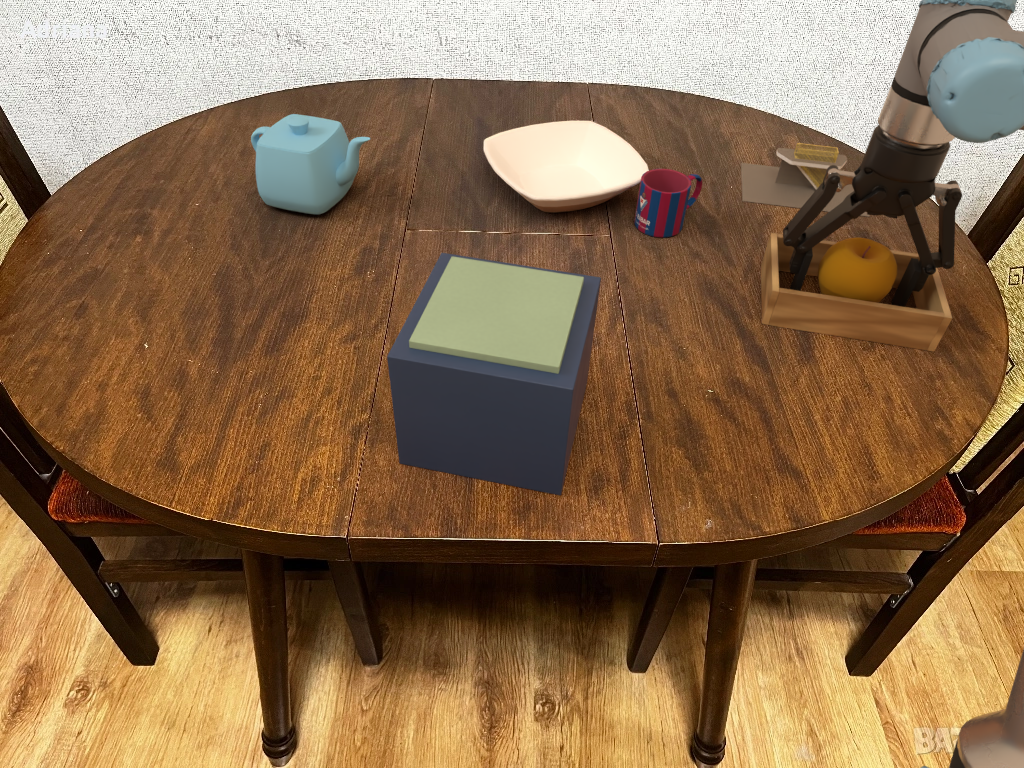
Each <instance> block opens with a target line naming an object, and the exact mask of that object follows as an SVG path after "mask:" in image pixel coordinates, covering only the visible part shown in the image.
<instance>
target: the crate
mask: <svg viewBox="0 0 1024 768" xmlns="http://www.w3.org/2000/svg"><path fill="white" fill-rule="evenodd" d="M451 257H459V258H465V259H472V260H478V261H484V262H491V263H497V264H504V265H510V266H516V267H523V268H529V269H536V270H542V271H548V272H555V273H561V274H567V275H574V276H580V277H584V282H583V287H582V290H581V294H580V298H579V301H578V305H577V309H576V312H575V316H574V320H573V323H572V327H571V331H570V334H569V338H568V342H567V345H566V349H565V353H564V356H563V360H562V364H561V367H560V371H559V374H556V373H551V372H545V371H539V370H534V369H528V368H522V367H517V366H511V365H505V364H499V363H494V362H488V361H482V360H477V359H471V358H465V357H460V356H454V355H448V354H443V353H437V352H431V351H425V350H420V349H414V348H410V347H409V340H410V338H411V336H412V334H413V332H414V330H415V328H416V326H417V324H418V322H419V320H420V318H421V316H422V314H423V312H424V310H425V308H426V306H427V304H428V302H429V300H430V298H431V296H432V294H433V292H434V290H435V288H436V286H437V284H438V282H439V281H440V279H441V277H442V275H443V273H444V271H445V269H446V267H447V265H448V263H449V261H450V259H451ZM601 281H602V277H600V276H594V275H588V274H583V273H574V272H569V271H562V270H555V269H550V268H545V267H544V268H543V267H537V266H532V265H531V266H529V265H523V264H518V263H511V262H504V261H497V260H492V259H485V258H480V257H472V256H466V255H461V254H454V253H447V252H441V253H440V255H439V256H438V258H437V261H436V262H435V264H434V266H433V268H432V270H431V272H430V273H429V276H428V278H427V280H426V282H425V283H424V285H423V287H422V289H421V290H420V293H419V295H418V297H417V298H416V300H415V303H414V304H413V305H412V308H411V310H410V312H409V314H408V315H407V317H406V319H405V321H404V323H403V325H402V327H401V329H400V331H399V332H398V335H397V336H396V339H395V341H394V342H393V345H392V346H391V348H390V350H389V352H388V354H387V356H386V360H387V368H388V376H389V386H390V394H391V401H392V403H391V404H392V411H393V419H394V420H393V421H394V428H395V437H396V445H397V454H398V463H399V464H400V465H405V466H410V467H416V468H421V469H425V470H431V471H436V472H439V473H444V474H445V473H446V474H451V475H456V476H460V477H466V478H471V479H476V480H479V481H480V480H481V481H486V482H492V483H495V484H501V485H506V486H512V487H516V488H522V489H526V490H531V491H536V492H541V493H546V494H552V495H556V496H562V494H563V489H564V485H565V482H566V481H565V480H566V476H567V471H568V467H569V463H570V460H571V454H572V451H573V446H574V442H575V437H576V433H577V428H578V424H579V419H580V414H581V410H582V406H583V403H584V398H585V394H586V389H587V385H588V380H589V371H590V364H591V356H592V351H593V350H592V349H593V341H594V334H595V327H596V319H597V312H598V306H599V305H598V303H599V298H600V297H599V296H600V289H601Z"/></svg>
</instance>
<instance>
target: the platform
mask: <svg viewBox="0 0 1024 768" xmlns="http://www.w3.org/2000/svg"><path fill="white" fill-rule="evenodd" d="M775 153H776V156H777V157H778V158H780V159H781V161H780V165H779V166H772V165H766V164H763V165H762V164H757V163H755V164H754V163H747V162H741V163H740V171H741V172H740V173H741V175H740V176H741V200H742V201H741V202H747V203H756V204H764V205H771V206H779V207H780V206H781V207H787V208H796V209H801V208H802V206H803V205H804V204H805V203H806V202H807V200H808V199H809V198H810V197H811V195H812V194H813V193H814V192H815V191H816V189H817V188H818V187H819V186H820V185H821V183H822V182H823V179H824V176H825V173H826V171H827V168H828V167H829V166H831V165H836V166H837V167H838V169H839V170H841V169H842V168H843V167H844V166H845V165H846V164H847V162H848V156H846V155H845V154H839V153H840V152H839V148H838V147H837V146H827V145H820V144H819V145H818V144H812V143H811V144H810V143H802V142H797V143H796V146H795V149H794V148H786V147H777V149H776V151H775ZM853 191H854V189H853V187H852V184H849V185H846V186H845V187H844V188H843V189H842V190H841V191H840V192H836V193H835V195H834V197H833V198H832V200H831V201H830V202H829V203H828V204H827V206H826V207H825V208H824V209H823V210H822V211H821V212H827V213H828V212H830V211H831V210H832V209H834V208H835V207H836V206H838V205H839V204H840V203H842V202H843V201H844V199H845V198H846V196H848V195H849V194H850V193H852V192H853ZM859 217H869V218H870V217H871V215H868V214H867V212H864V213H863V214H862V215H860V216H859Z"/></svg>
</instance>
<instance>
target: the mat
mask: <svg viewBox="0 0 1024 768" xmlns="http://www.w3.org/2000/svg"><path fill="white" fill-rule="evenodd" d="M583 282H584V277H580V276H574V275H567V274H561V273H555V272H548V271H542V270H536V269H529V268H523V267H516V266H510V265H504V264H497V263H491V262H484V261H478V260H472V259H465V258H459V257H451V259H450V261H449V263H448V265H447V267H446V269H445V271H444V273H443V275H442V277H441V279H440V281H439V282H438V284H437V286H436V288H435V290H434V292H433V294H432V296H431V298H430V300H429V302H428V304H427V306H426V308H425V310H424V312H423V314H422V316H421V318H420V320H419V322H418V324H417V326H416V328H415V330H414V332H413V334H412V336H411V338H410V340H409V347H410V348H414V349H420V350H425V351H431V352H437V353H443V354H448V355H454V356H460V357H465V358H471V359H477V360H482V361H488V362H494V363H499V364H505V365H511V366H517V367H522V368H528V369H534V370H539V371H545V372H551V373H556V374H559V371H560V367H561V364H562V360H563V356H564V353H565V349H566V345H567V342H568V338H569V334H570V331H571V327H572V323H573V320H574V316H575V312H576V309H577V305H578V301H579V298H580V294H581V290H582V287H583Z"/></svg>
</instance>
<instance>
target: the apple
mask: <svg viewBox="0 0 1024 768" xmlns="http://www.w3.org/2000/svg"><path fill="white" fill-rule="evenodd" d="M836 242H837V243H836V244H834V245H833V246H831V247H830V248H829V249H828V250H827V252H826V253H825V255H824V256H823V258H822V259H821V261H820V264H819V268H818V277H817V280H818V287H819V290H820V294H823V295H830V296H836V297H843V298H850V299H856V300H863V301H869V302H876V303H881V302H882V300H884V299H885V297H886V296H888V295H889V293H890V292H891V290H892V289H893V288H892V286H893V284H894V281H895V279H896V276H897V264H896V260H895V258H894V255H893V253H892V252H891V251H890V250H891V249H889V247H887V246H886V245H884V244H882V243H880V242H878V241H875V240H874V239H871V238H866V237H847V238H845V239H841V240H839V241H836Z"/></svg>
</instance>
